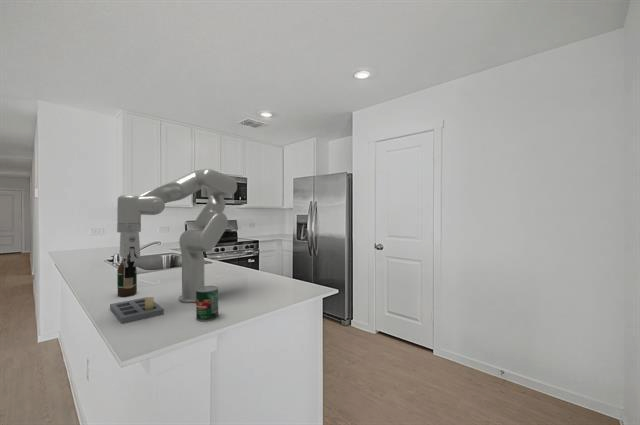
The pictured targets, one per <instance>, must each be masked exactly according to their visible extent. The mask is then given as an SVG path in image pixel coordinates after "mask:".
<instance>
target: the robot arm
mask: <svg viewBox="0 0 640 425" xmlns="http://www.w3.org/2000/svg"><path fill="white" fill-rule="evenodd" d="M201 189H206V192H207V196H208V201H207V203H206V204H205V206H204V207H203V209H202V210H201V212H200V213H199V214H198V216H197V217H196V219H195V222H194V224H195V227H196V228H197V229H188V230H185V231H183V233H182V234H181V235H180V237H179V241H178V243H179V249H180V254H181V295H180V296H178V299H177V300H178V302H180V303H187V304H188V303H196V289H197V288H200V287H204V286H205V255H204V253H207V252H211V251H212V250H213V249H214V248H215V247H216V245H217V244H218V243H219V241H220V240H221V237H223V234H224V233H225V232H226V229H227V226H228V222H229V221H228V217H227V215H226V214H225V213H224V211H225V207H226V202H225V198H224V196H232V195H233V194H235V193H236V192H237V190H238V184H237V181H236V180H235V179H234V178H233V177H231V176H228V175H226V174H224V173H221V172H219V171H217V170H214V169H210V168H208V169H207V168H206V169H205V168H204V169H197V170H194V171H191V172H189V173H187V174H185V175H183V176H182V177H178V178H177V179H175V180H173V181H171V182H168V183H165V184H163V185H161V186H158V187H155V188H153V189H150V190H148V191H146V192H144V193H142V194H141V195H138V196H137V195H130V194H129V195H124V194H123V195H120V196H118V197H117V208H116V209H117V211H116V212H117V213H116V214H117V217H116V218H117V219H116V220H117V221H116V222H117V223H116V225H117V226H116V232H117V233H119V234H120V237H119V256H120V257H121V259H122V258H123V269H122V276H123V277H124V261H126V267H125V278H133V277H135V266H136V259H140V258H141V243H140V233H141V232H142V230H141V229H142V227H141V226H142V215H143V216H145V215H147V216H155V215H160V214H161V213H163V212H164V210H165V207H166V204H167V203H171V202H177V201H182V200H183V199H185V198H188V197H189V196H191V195H193V194H195V193H196V192H198V191H200V190H201ZM135 258H136V259H135Z"/></svg>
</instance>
